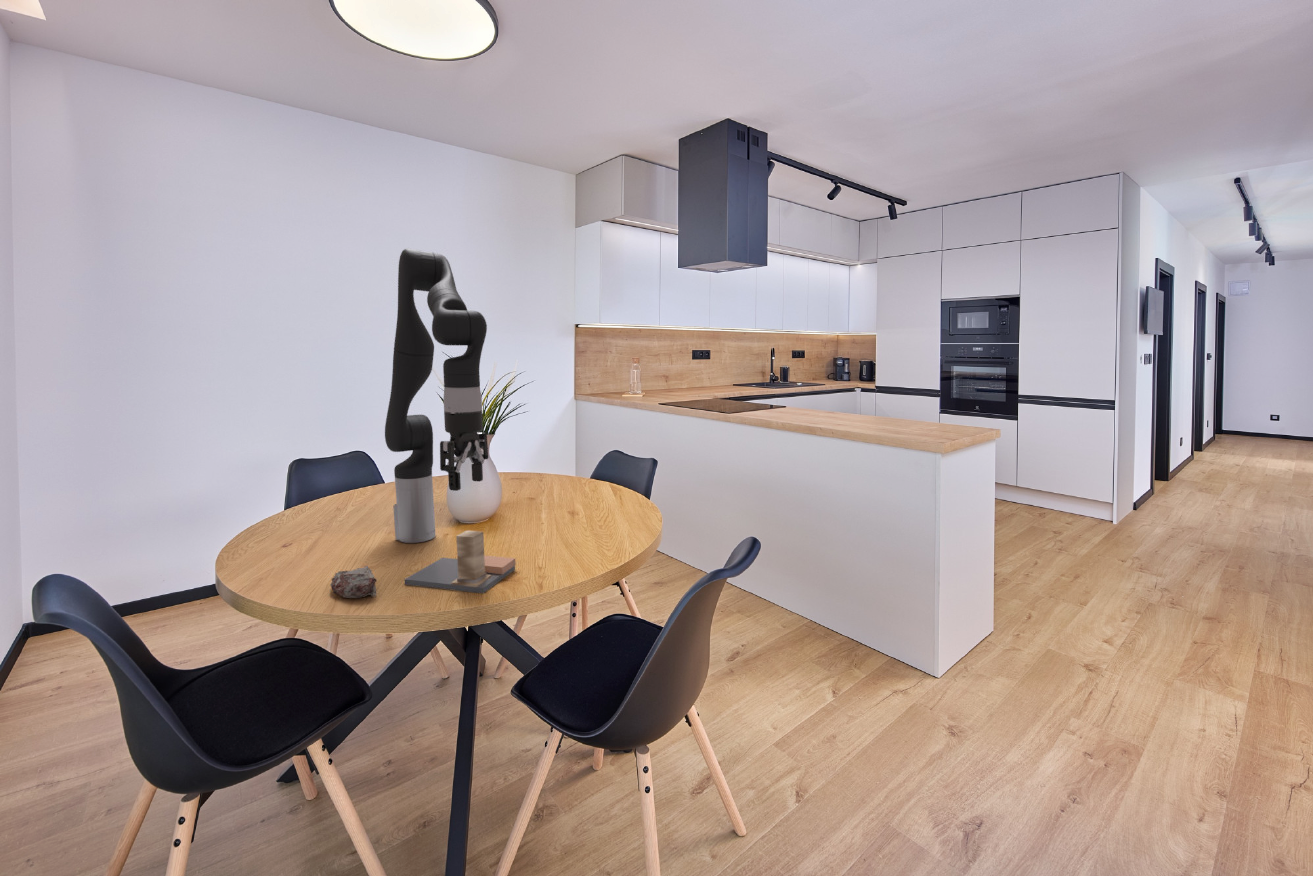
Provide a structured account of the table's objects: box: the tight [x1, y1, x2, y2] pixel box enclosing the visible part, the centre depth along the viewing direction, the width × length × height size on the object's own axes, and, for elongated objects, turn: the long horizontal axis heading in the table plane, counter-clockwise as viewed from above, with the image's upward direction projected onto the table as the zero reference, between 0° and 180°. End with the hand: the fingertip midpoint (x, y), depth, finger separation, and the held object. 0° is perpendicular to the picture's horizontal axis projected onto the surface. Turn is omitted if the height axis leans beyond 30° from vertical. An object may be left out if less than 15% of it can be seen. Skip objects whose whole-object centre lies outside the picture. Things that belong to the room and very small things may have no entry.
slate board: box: [403, 557, 516, 594], centre depth 134 cm, size 19×14×1 cm
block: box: [455, 529, 487, 583], centre depth 128 cm, size 4×4×10 cm
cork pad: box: [451, 574, 491, 587], centre depth 129 cm, size 6×6×1 cm
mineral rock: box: [330, 565, 378, 599], centre depth 126 cm, size 15×8×4 cm, turn 33°
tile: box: [484, 554, 516, 574], centre depth 136 cm, size 2×6×8 cm
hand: (466, 485), depth 126 cm, fingers open, 8 cm apart
